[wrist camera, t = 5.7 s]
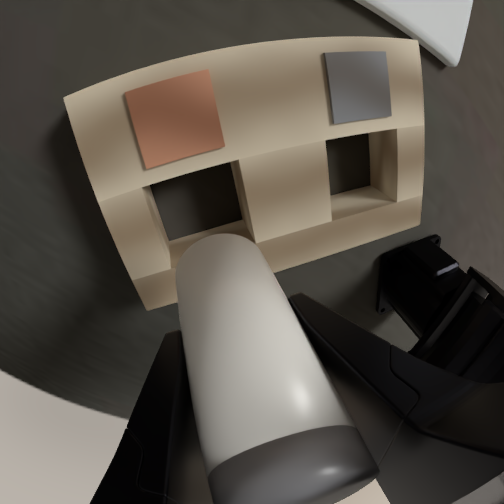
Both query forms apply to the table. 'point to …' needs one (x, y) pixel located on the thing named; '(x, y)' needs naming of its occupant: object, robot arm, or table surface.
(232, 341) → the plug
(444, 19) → the external hard drive
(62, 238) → the table surface
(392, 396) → the robot arm
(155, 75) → the socket block
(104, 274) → the table surface
